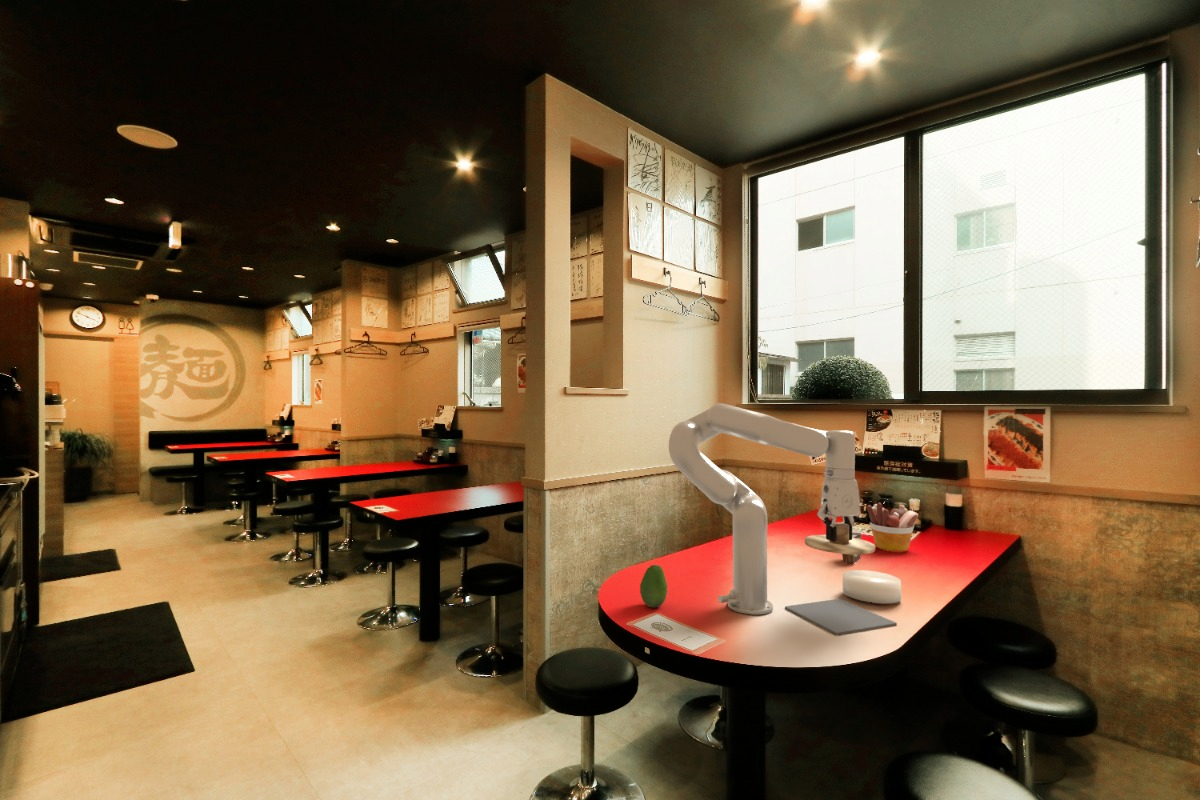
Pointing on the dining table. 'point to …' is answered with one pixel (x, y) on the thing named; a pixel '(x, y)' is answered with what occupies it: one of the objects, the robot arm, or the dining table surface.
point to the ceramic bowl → (872, 586)
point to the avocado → (653, 586)
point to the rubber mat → (840, 616)
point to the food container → (852, 557)
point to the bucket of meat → (891, 527)
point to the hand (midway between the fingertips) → (839, 539)
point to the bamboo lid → (840, 542)
